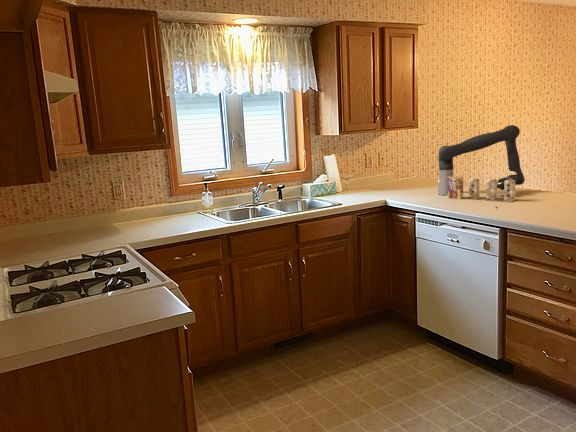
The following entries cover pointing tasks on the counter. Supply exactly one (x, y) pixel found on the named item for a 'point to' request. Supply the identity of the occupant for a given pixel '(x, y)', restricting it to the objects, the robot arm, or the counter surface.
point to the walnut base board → (491, 200)
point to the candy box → (455, 187)
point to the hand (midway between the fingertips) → (493, 187)
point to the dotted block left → (474, 188)
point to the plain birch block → (491, 189)
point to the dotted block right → (509, 190)
